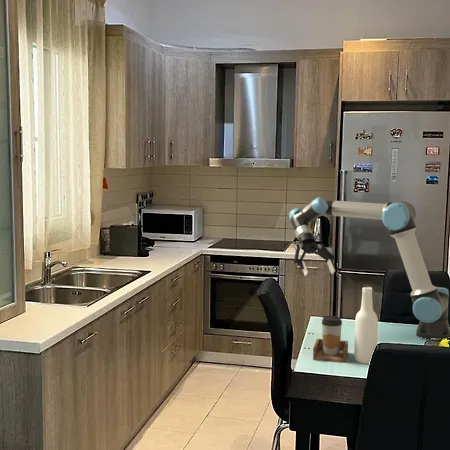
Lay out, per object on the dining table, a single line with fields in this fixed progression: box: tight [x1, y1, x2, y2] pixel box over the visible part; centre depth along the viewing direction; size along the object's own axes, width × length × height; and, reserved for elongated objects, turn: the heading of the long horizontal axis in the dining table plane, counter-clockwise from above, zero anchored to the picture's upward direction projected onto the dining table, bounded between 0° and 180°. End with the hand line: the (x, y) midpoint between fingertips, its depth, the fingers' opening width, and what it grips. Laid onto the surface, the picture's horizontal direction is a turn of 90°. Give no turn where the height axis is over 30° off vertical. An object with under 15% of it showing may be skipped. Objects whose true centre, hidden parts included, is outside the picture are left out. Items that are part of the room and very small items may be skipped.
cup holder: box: [312, 338, 349, 363], centre depth 245 cm, size 13×13×5 cm
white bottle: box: [353, 286, 379, 365], centre depth 238 cm, size 9×9×30 cm
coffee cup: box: [321, 315, 343, 356], centre depth 244 cm, size 8×8×15 cm
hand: (320, 273), depth 268 cm, fingers open, 13 cm apart
